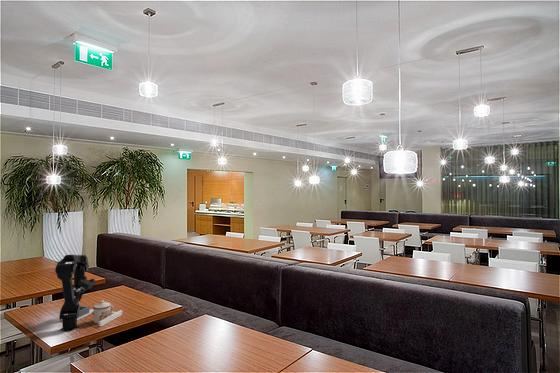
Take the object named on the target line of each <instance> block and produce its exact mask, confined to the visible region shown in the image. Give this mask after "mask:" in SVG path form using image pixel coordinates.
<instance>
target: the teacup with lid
mask: <svg viewBox="0 0 560 373" xmlns="http://www.w3.org/2000/svg"><path fill="white" fill-rule="evenodd" d="M92 308H93V310H94V313H93V323H95V324H99V321H101V320H103V319H105V318H107V317H109V316H110V315H111V314H110V313H112V312H114V305H112V304H111V303H110V302H106V301H105V300H100V301H99V302H98V303H96V304H94V305H93V307H92Z"/></svg>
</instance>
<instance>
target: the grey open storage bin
mask: <svg viewBox="0 0 560 373" xmlns="http://www.w3.org/2000/svg"><path fill="white" fill-rule="evenodd" d="M73 314H76V313H73ZM91 314H94V309H90V306H85V305H84V306H83V305H80V313H79V316H78V317H77V321H79V320H81V319H83V318H85V317H87V316H90V315H91ZM67 315H71V314H67ZM122 315H123V310H118V311H112V313H110V316H109V317H107V318H105V319H103V320H101V321H99V323H98V327H103V326H104V325H106V324H108V323H110V322H112V321H113V320H115V319H117V318H119V317H120V316H122Z"/></svg>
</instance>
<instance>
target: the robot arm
mask: <svg viewBox="0 0 560 373" xmlns="http://www.w3.org/2000/svg"><path fill="white" fill-rule="evenodd" d="M89 269H90V265H89V260H88V256H87V255H86V254H64V257H63V258H61V259H60V260H59V261H58V262H57V265H56V267H55V268H54V272H55V274H56V277H57V279H59V280H60V281H61V286H62V294H63V299H64V301H63V303H62V305H61V308H60V312H59V316H58V318H59V320H62V327H61V328H60V329H59V331H65V332H71V331H73V330H75V329H77V328H79V327H80V326H79V325H78V323H77V322H78V320H77V317H78V316H79V313H80V306H81V304H80V302H81V300H82V297H83V295H84V292H85V291H87V290H89V289H92V288H93V286H95V285H96V284H95V283H96V279H95V278H90V279H88V277H87V276H86V272H87V271H88V270H89ZM73 313H76V314H73ZM68 314H71V315H68Z"/></svg>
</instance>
